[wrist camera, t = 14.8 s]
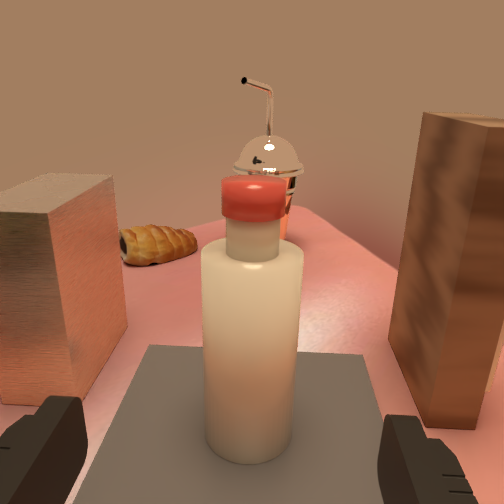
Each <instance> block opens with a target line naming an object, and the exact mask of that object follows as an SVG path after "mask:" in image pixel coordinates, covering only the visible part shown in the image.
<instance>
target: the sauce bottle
mask: <svg viewBox="0 0 504 504" xmlns="http://www.w3.org/2000/svg"><path fill="white" fill-rule="evenodd" d="M286 189H287V181H286V180H284V179H282V178H278V177H274V176H267V175H235V176H230V177H226V178H224V179H222V215H223V216H225V217H226V238H222V239H218V240H215V241H213V242H210V243H209V244H207V245H206V246H204V247H203V248H202V250H201V282H202V330H203V378H204V426H205V438H206V441H207V443H208V445H209V447H210V448H211V449H212V450H213V451H214V452H215V453H216V454H217V455H218V456H220V457H222V458H223V459H226V460H228V461H231V462H234V463H238V464H259V463H264V462H267V461H269V460H272V459H274V458H276V457H277V456H279V455H280V454H281V453H282V452H283V451H284V450H285V449H286V448H287V446H288V444H289V442H290V439H291V433H292V418H293V404H294V390H295V375H296V361H297V347H298V333H299V318H300V304H301V290H302V275H303V261H304V253H303V251H302V250H301V249H300V248H299V247H298V246H296V245H295V244H293V243H291V242H288V241H285V240H282V239H280V223H281V218H282V217H284V216H285V208H286Z"/></svg>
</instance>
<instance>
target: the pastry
mask: <svg viewBox="0 0 504 504" xmlns="http://www.w3.org/2000/svg"><path fill="white" fill-rule="evenodd" d="M119 243H120V254H121V257H122V258H123V260H124V261H125V262H126V263H128V264H131V265H136V266H145V265H149V264H150V263H153V262H156V263H158V264H160V263H166V262H168V261H173V260H176V259H179V258H182V257H185V256H188V255H190V254H191V253H192V252H194V251H196V249H197V247H198V245H197V240H196V238H195V237H194V234H193V233H191V232H189V231H187V230H184V229H177V230H175V229H173V228H172V227H167V226H155V225H146V226H145V227H139V226H136V227H132V228H131V229H121V230H120V232H119Z"/></svg>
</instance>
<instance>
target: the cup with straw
mask: <svg viewBox="0 0 504 504" xmlns="http://www.w3.org/2000/svg"><path fill="white" fill-rule="evenodd" d="M241 82H242V84H245V85H248V86H251V87H254V88H257V89H260V90H263V91H266V93H267V124H266V135H264V136H259V137H257V138H254V139H253V140H251V141H250V142H249V143H248V144H247V145H246V146H245V147H244V149H243V151H242V153H241V155H240V159H239V160H238V161H236V162H235V163H234V167H233V172H235V173H237V174H239V175H267V176H274V177H278V178H282V179H284V180H286V181H287V189H286V208H285V216H284V217H282V218H281V223H280V239H282V240H285V237H286V231H287V225H288V219H289V213H290V207H291V201H292V195H293V194H294V190H295V187H296V183H297V176H299V175H301V174H303V173H304V169H303V164H301V163H300V162H298V158H297V155H296V152H295V150H294V148H293V147H292V145H291V144H290V143H289V142H287V141H286V140H285V139H283V138H281V137H279V136H274V135H272V123H273V90H272V88H271V87H270V86H269V85H266V84H263V83H260V82H257V81H254V80H251V79H249V78H246V77H244V78H242V80H241Z"/></svg>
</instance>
